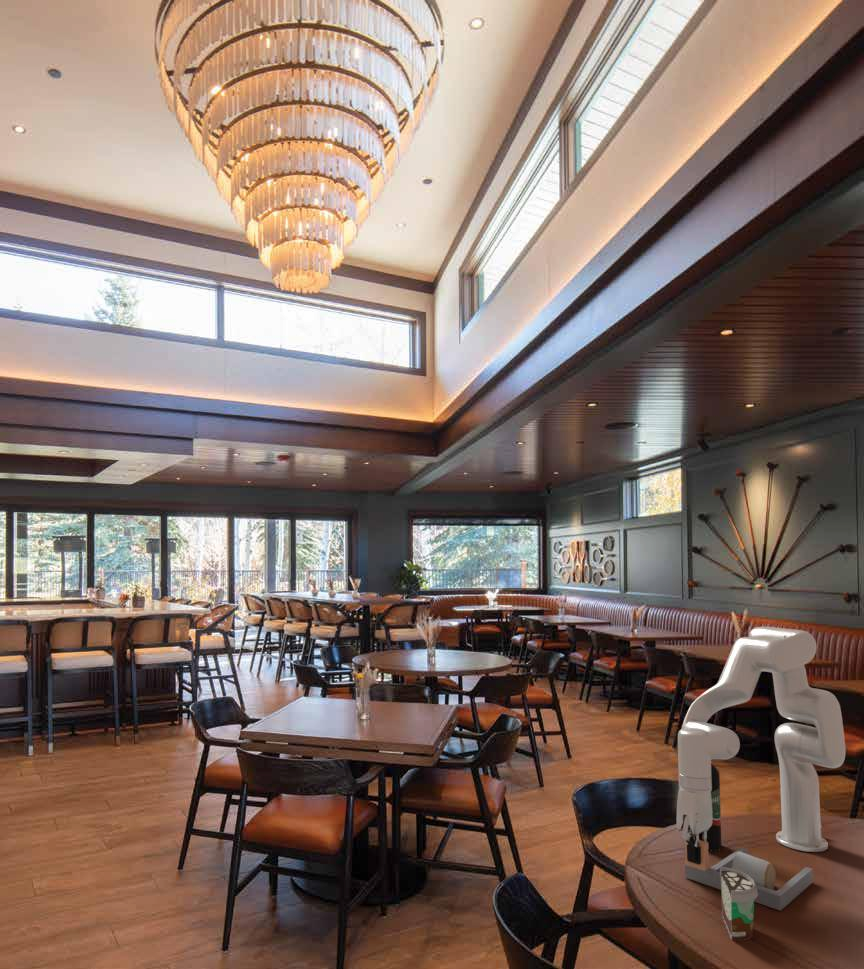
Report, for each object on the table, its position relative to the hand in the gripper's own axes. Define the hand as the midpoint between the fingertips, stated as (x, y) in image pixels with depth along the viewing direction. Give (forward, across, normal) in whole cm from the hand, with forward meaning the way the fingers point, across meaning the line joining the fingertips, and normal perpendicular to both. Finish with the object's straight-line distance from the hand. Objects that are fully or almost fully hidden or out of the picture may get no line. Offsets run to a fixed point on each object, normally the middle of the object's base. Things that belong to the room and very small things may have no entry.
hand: (696, 860), depth 171 cm
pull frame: (+4, -9, +9) cm, 13 cm away
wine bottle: (+5, -22, -8) cm, 24 cm away
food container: (+5, +15, +17) cm, 23 cm away
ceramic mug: (+5, -6, +11) cm, 14 cm away
